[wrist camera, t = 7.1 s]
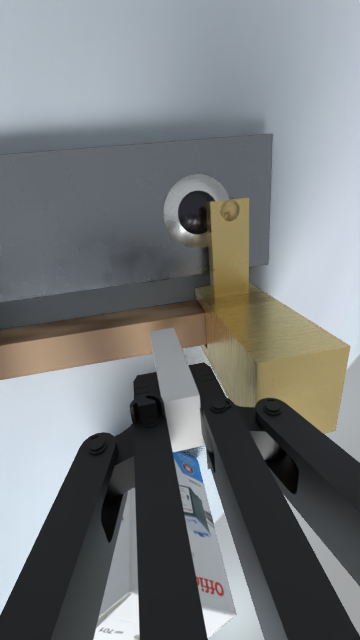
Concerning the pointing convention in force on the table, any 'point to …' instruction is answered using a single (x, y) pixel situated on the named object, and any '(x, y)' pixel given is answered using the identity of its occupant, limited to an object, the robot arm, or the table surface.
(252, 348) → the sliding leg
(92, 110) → the table surface
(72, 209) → the gray rectangular panel
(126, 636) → the ink box
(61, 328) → the beam
